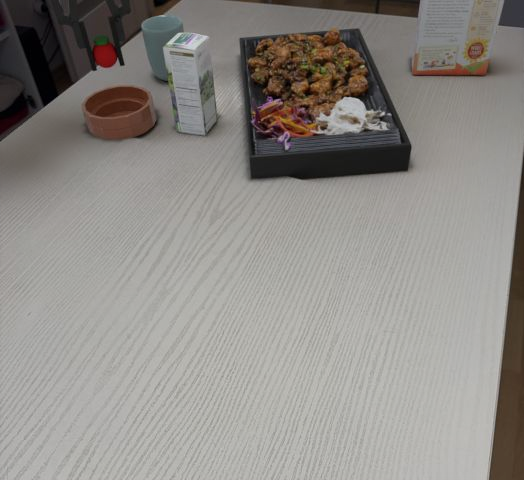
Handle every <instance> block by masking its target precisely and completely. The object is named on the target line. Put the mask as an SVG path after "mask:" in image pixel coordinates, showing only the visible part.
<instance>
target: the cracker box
mask: <svg viewBox="0 0 524 480" xmlns="http://www.w3.org/2000/svg"><path fill="white" fill-rule="evenodd" d="M504 4H505V0H419V7H418V15H417V22H416V29H415V34H414V41H413V47H412V48H413V49H412V55H411V56H412V57H411V63H410V64H411V74H412V75H413V76H485V75H487V71H488V67H489V63H490V60H491V56H492V52H493V47H494V45H495V44H494V43H495V39H496V36H497V32H498V29H499V28H498V27H499V24H500V19H501V16H502V12H503V8H504Z"/></svg>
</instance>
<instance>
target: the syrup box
mask: <svg viewBox="0 0 524 480" xmlns="http://www.w3.org/2000/svg"><path fill="white" fill-rule="evenodd" d="M163 52H164V57H165V64H166V69H167V76H168V81H167V82H168V88H169V94H170V100H171V105H172V111H173V118H174V123H175V130H176V132H177V133H181V134H182V133H183V134H188V135H195V136H196V135H198V136H207V134H208V133H209V132H210V131H211V129H213V127H214V126H215V124H216V123H217V121H218V111H217V100H216V91H215V82H214V81H215V80H214V72H213V70H214V69H213V61H212V53H211V42H210V37H209V36H208V35H204V34H200V33H195V32H184V33H178V34H177V35H175V36H174V37H173V38H172V39H171V40H170V41H169V42H168V43H167V44H166V45H165V46H164V47H163Z"/></svg>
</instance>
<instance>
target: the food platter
mask: <svg viewBox="0 0 524 480" xmlns="http://www.w3.org/2000/svg"><path fill="white" fill-rule="evenodd" d="M366 42H367V41H366V40H365V38H364V36H363V34H362V32H361V29H360V28H359V27H357V28H346V29H338V28H335V27H332V28H331V29H330V30H319V31H307V32H294V33H293V32H292V33H282V34H281V33H280V34H270V35H269V34H268V35H259V36H258V35H257V36H246V37H245V36H244V37H239V52H240V53H239V55H240V64H241V65H240V66H241V78H242V88H243V89H242V90H243V101H244V111H245V113H244V114H245V123H246V137H247V147H248V148H247V149H248V159H249V160H248V161H249V167H250V168H249V169H250V179H251V180H255V179H256V180H257V179H268V178H269V179H270V178H281V177H289V178H292V179H297V180H309V179H310V180H311V179H312V180H313V179H324V178H337V177H348V176H361V175H374V174H375V175H376V174H387V173H399V172H408V171H409V165H410V159H411V155H412V148H413V146H412V142H411V141H410V138H409V136H408V134H407V131H406V129H405V127H404V125H403V123H402V121H401V119H400V116H399V114H398V111H397V109H396V108H395V107H396V106H395V105H394V103H393V100H392V98H391V96H390V94H389V92H388V89H387V87H386V85H385V83H384V81H383V78H382V77H381V73H380V71H379V68H378V67H377V65H376V63H375V60H374V58H373V56H372V54H371V51H370V49H369V48H368V45H367V43H366Z"/></svg>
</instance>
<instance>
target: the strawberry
mask: <svg viewBox="0 0 524 480" xmlns="http://www.w3.org/2000/svg"><path fill="white" fill-rule="evenodd" d="M92 41H93V43H94V45H93V47H92V54H93V57H94V60H95V64H97V66H99V67H101V68H104V69H110V68H112V67H114V66H115V65H116V63H117V62H118V55H117V51H116V48H115V44H113V43H112V42H110V39H109V36H107V35H98V36H95V37H94V38H93V40H92Z"/></svg>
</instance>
